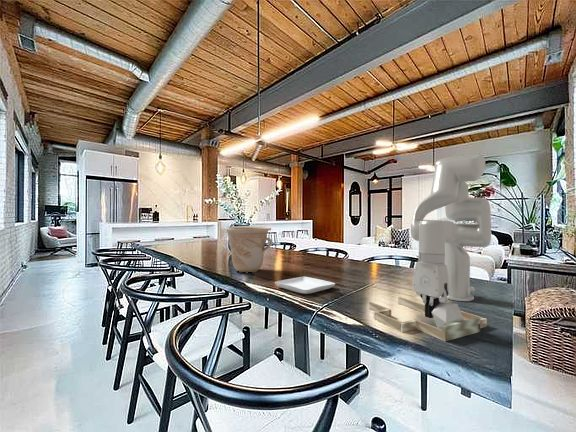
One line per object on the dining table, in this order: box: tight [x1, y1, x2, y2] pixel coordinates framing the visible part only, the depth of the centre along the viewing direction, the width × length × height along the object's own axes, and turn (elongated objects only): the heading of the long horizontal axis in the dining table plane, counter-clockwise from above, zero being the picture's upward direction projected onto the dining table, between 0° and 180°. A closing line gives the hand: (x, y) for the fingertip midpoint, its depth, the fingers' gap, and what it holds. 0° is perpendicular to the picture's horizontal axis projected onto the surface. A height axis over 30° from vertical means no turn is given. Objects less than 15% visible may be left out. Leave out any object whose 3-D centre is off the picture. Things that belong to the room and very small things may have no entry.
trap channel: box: [368, 296, 488, 342], centre depth 96 cm, size 28×30×4 cm
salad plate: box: [274, 276, 336, 295], centre depth 135 cm, size 21×21×3 cm
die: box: [432, 301, 464, 329], centre depth 87 cm, size 8×9×10 cm
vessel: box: [224, 225, 273, 274], centre depth 177 cm, size 29×29×30 cm
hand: (430, 316), depth 90 cm, fingers closed
